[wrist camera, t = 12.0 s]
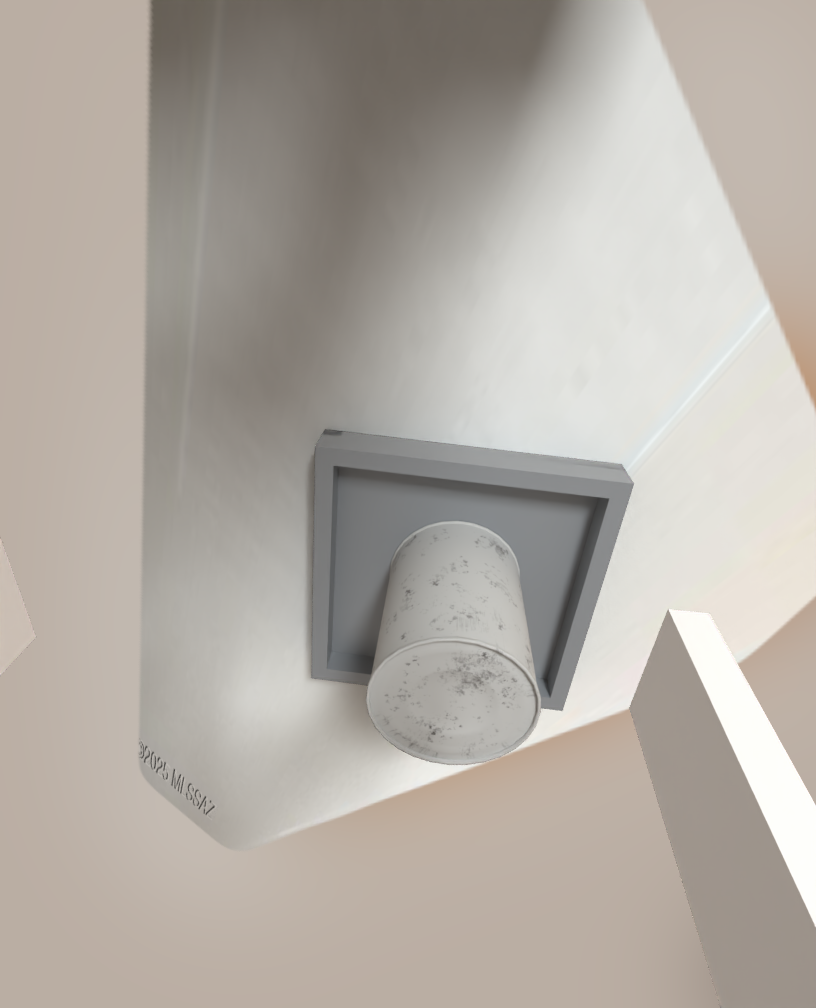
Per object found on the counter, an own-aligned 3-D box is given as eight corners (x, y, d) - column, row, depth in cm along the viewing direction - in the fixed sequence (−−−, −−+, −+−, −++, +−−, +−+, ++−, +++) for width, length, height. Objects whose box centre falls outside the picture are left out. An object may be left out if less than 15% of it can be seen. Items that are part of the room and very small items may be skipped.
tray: (325, 429, 38) (315, 446, 36) (621, 464, 38) (633, 483, 35) (319, 651, 48) (311, 678, 45) (556, 682, 47) (562, 710, 44)
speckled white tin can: (537, 605, 42) (564, 743, 32) (421, 641, 45) (409, 779, 34) (491, 501, 39) (504, 617, 28) (367, 546, 41) (335, 668, 30)
